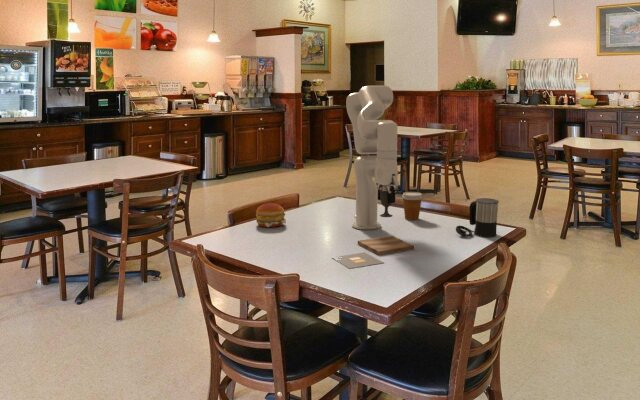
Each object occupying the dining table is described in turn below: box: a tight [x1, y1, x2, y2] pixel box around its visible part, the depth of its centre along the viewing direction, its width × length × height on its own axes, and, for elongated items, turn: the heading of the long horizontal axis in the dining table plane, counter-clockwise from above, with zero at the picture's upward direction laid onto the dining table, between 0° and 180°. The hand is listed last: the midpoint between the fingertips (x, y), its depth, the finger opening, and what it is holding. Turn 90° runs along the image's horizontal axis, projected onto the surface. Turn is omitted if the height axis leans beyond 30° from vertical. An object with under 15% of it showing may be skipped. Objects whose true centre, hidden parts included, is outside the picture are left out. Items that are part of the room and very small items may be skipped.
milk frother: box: [455, 197, 500, 238], centre depth 239 cm, size 14×16×15 cm
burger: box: [255, 202, 287, 228], centre depth 259 cm, size 14×14×10 cm
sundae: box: [378, 185, 393, 218], centre depth 221 cm, size 7×7×15 cm
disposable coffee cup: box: [401, 191, 423, 221], centre depth 268 cm, size 10×10×12 cm
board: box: [357, 235, 415, 256], centre depth 225 cm, size 16×16×2 cm
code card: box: [336, 251, 385, 269], centre depth 208 cm, size 14×14×1 cm
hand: (386, 200), depth 221 cm, fingers closed on sundae, 6 cm apart
